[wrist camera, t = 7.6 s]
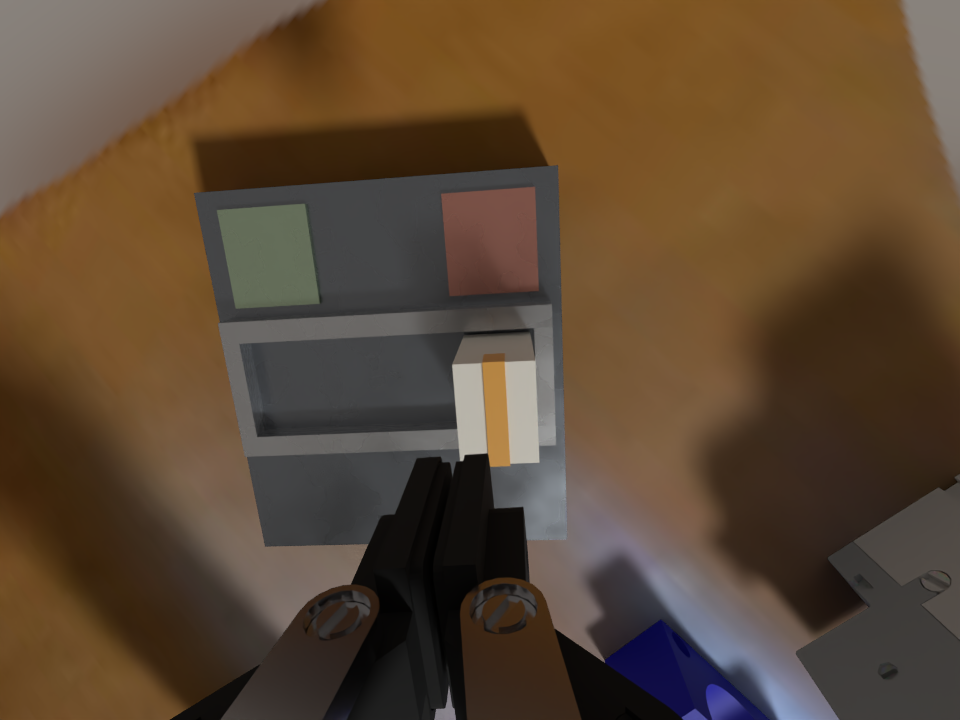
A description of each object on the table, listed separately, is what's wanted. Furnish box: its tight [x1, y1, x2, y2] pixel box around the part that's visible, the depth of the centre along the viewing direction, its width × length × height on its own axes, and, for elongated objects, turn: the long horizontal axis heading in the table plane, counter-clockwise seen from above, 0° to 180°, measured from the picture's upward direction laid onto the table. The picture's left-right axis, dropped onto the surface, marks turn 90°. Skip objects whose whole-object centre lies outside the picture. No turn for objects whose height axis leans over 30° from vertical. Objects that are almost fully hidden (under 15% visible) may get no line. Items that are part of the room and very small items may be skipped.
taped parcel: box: [452, 332, 539, 467], centre depth 21 cm, size 4×3×5 cm
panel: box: [194, 165, 567, 546], centre depth 25 cm, size 18×16×4 cm
